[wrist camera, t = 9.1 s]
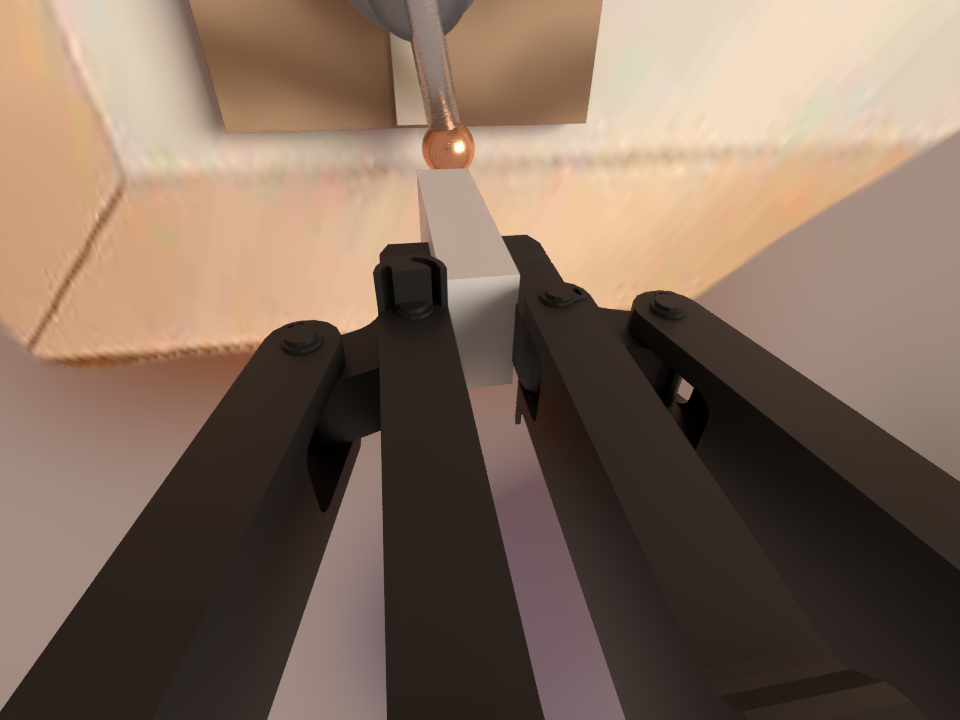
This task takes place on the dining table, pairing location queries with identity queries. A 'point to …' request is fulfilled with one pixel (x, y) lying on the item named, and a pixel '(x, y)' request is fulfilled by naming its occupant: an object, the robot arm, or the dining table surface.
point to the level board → (394, 64)
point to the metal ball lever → (429, 70)
